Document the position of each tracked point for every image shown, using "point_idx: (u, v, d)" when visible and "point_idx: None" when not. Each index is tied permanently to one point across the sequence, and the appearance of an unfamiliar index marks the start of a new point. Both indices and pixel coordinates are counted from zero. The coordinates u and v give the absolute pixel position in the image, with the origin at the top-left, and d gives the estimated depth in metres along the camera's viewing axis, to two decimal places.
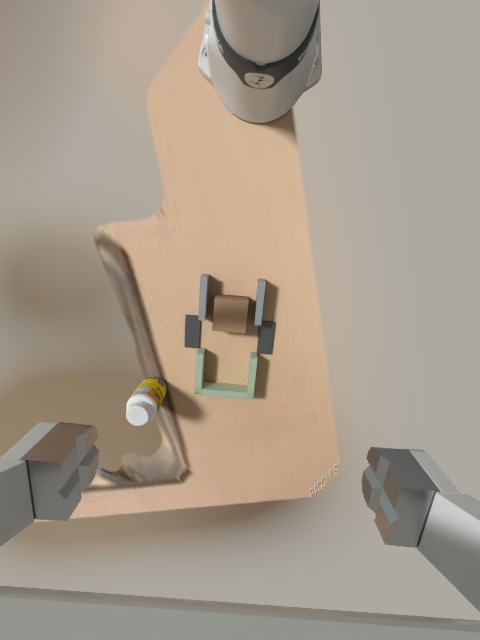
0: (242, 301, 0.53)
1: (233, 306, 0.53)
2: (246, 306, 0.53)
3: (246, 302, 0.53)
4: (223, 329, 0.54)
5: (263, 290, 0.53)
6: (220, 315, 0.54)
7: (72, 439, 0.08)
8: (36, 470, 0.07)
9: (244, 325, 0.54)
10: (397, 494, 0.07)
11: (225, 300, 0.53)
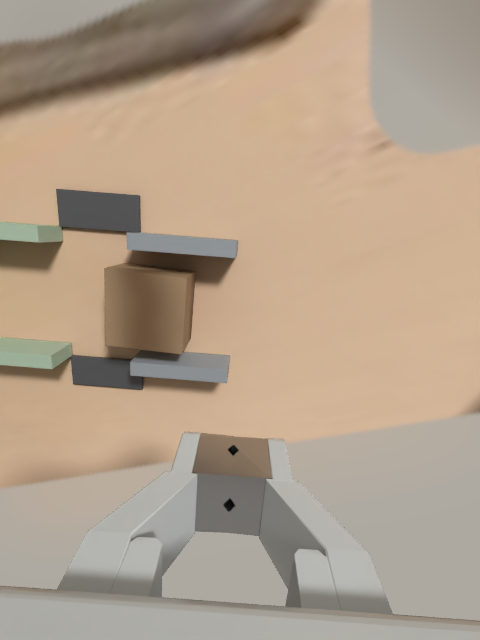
0: (180, 341, 0.23)
1: (166, 320, 0.23)
2: (169, 349, 0.23)
3: (178, 349, 0.23)
4: (110, 294, 0.22)
5: (208, 379, 0.25)
6: (145, 290, 0.22)
7: (226, 451, 0.08)
8: (205, 483, 0.07)
9: (124, 343, 0.23)
10: (231, 482, 0.07)
11: (181, 303, 0.22)
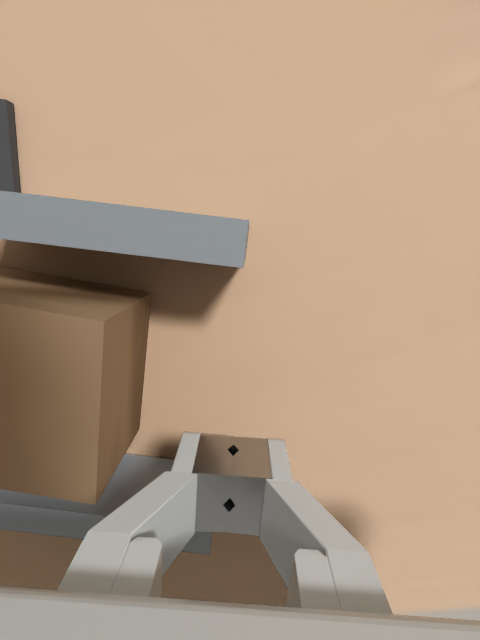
0: (91, 476, 0.09)
1: (53, 425, 0.09)
2: (63, 492, 0.09)
3: (86, 494, 0.09)
4: None
5: None
6: None
7: (226, 451, 0.08)
8: (205, 483, 0.07)
9: None
10: (231, 481, 0.07)
11: (90, 388, 0.08)
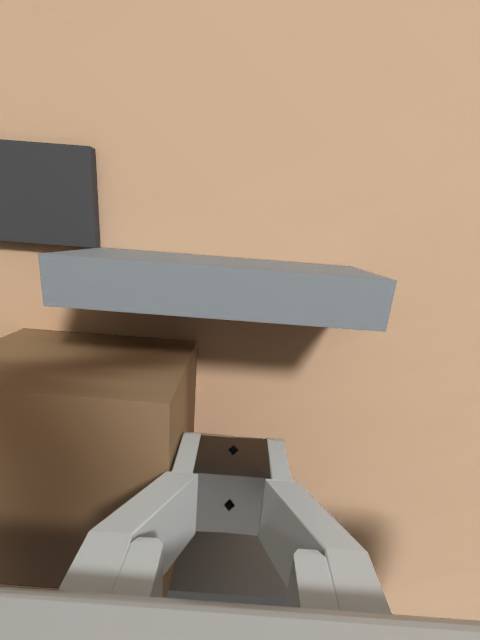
0: None
1: None
2: None
3: None
4: None
5: None
6: (39, 441, 0.07)
7: (226, 451, 0.08)
8: (205, 483, 0.07)
9: (1, 576, 0.08)
10: (230, 481, 0.07)
11: (157, 475, 0.07)
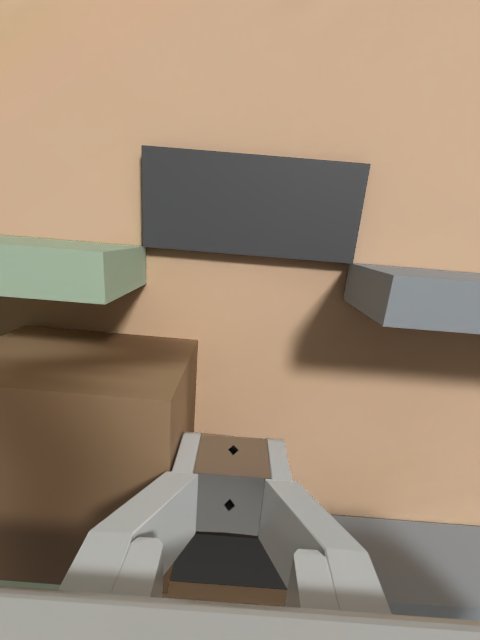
0: None
1: None
2: None
3: None
4: None
5: None
6: (40, 438, 0.07)
7: (226, 451, 0.08)
8: (206, 483, 0.07)
9: (1, 572, 0.08)
10: (230, 482, 0.07)
11: (158, 472, 0.07)
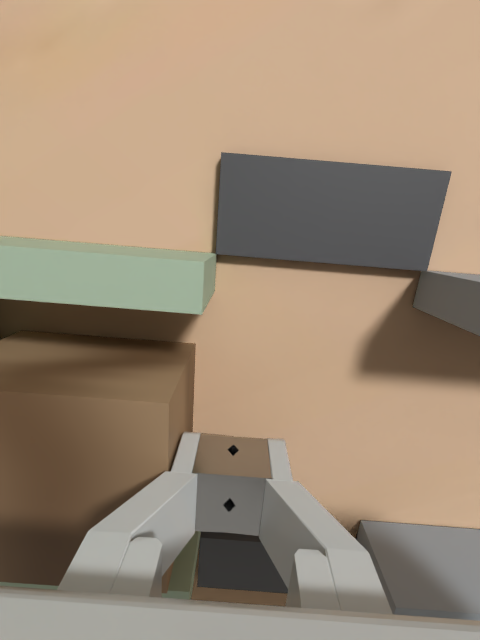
0: None
1: None
2: None
3: None
4: None
5: None
6: (40, 441, 0.07)
7: (226, 451, 0.08)
8: (205, 483, 0.07)
9: (3, 574, 0.08)
10: (231, 482, 0.07)
11: (157, 474, 0.07)
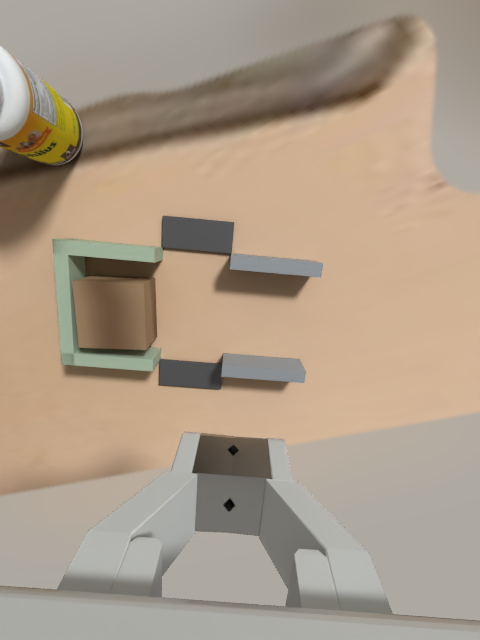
0: (143, 338, 0.27)
1: (130, 321, 0.26)
2: (135, 346, 0.27)
3: (143, 346, 0.27)
4: (79, 303, 0.26)
5: (288, 379, 0.29)
6: (109, 296, 0.26)
7: (226, 451, 0.08)
8: (205, 483, 0.07)
9: (95, 344, 0.27)
10: (230, 482, 0.07)
11: (141, 306, 0.26)
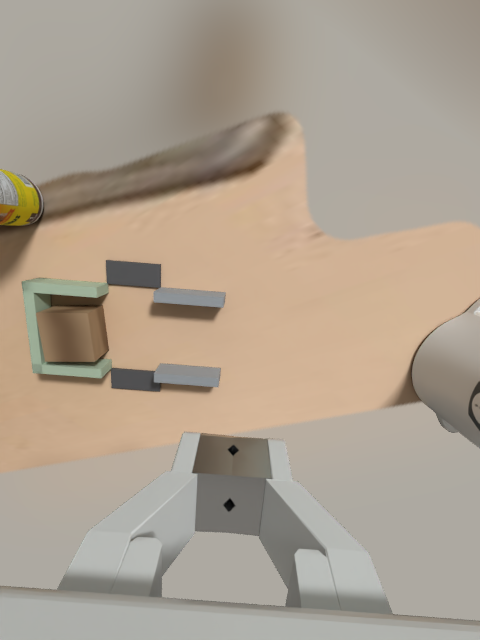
0: (92, 353, 0.36)
1: (80, 340, 0.35)
2: (86, 359, 0.36)
3: (92, 359, 0.36)
4: (42, 329, 0.35)
5: (205, 384, 0.37)
6: (63, 323, 0.35)
7: (226, 451, 0.08)
8: (205, 483, 0.07)
9: (57, 359, 0.36)
10: (230, 482, 0.07)
11: (87, 329, 0.35)
